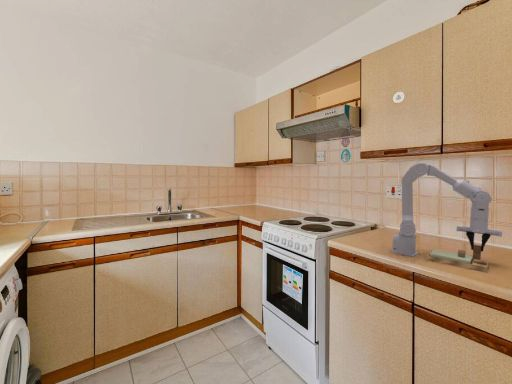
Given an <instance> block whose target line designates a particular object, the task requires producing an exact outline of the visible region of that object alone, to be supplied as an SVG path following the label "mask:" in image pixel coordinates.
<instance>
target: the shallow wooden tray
mask: <svg viewBox="0 0 512 384" xmlns="http://www.w3.org/2000/svg"><path fill="white" fill-rule="evenodd" d="M432 251H433V250H431V251H430V252H429V253H428V254H426V256H425V257H426V260H425V261H428V262H432V263H433V262H434V263H439V264H443V265H448V266H453V267H459V268H463V269H467V270H473V271H478V272H482V273H488V270H489V263H490V261H487V260H484V259H483V260H482V259H481V260H478V259H472V261H471V263H470V264H469V263H464V262H459V261H454V260H449V259H443V258H438V257H433V256H430V253H431V252H432Z"/></svg>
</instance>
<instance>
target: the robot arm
mask: <svg viewBox="0 0 512 384" xmlns="http://www.w3.org/2000/svg"><path fill="white" fill-rule="evenodd" d="M425 175H426V176H429V177H430V176H431V177H435V178H437V179H439V180H441V181H443V182H445V183H446V184H448V185H451V186H452V191H455V192H456V193H457V194H458V195H461V196H462V197H464V198H466V199H469V200H470V201H471V207H470V219H469V222H470V223H469V227H467V226H459V225H458V226H456V229H455V231H456V232H463V233H465V235H466V237H467V240H468V241H469V244H470V250H471V251H473V246H474V245H475V235H476V234H478V235H479V234H480V235H481V245H480V246H481V253H482V252H484V248H485V246H486V244H487V242H488V241H489V239H490V238H491V236H494V237H495V236H496V237H501V238H502V237H503V231H500V230H496V229H495V230H494V229H489V227H488V226H489V215H490V214H489V213H490V208H489V206H490V203H492V199H493V198H492V196H491V194H490V193H489V192H487V191H484V190H482V188H481V187H480V186H479V187H477V186H475V185H474V184H471V181H469V180H468V179H466V180H465V179H456V178H455V177H453V176H451V175H450V174H448V173H447V172H445V171H443V170H441V169H440V168H438V167H435V165H434V166H433V165H431V164H428V163H427V162H425V161H418V162H416V163H415V164H412V165H411V166H410V167H409V168H408V170H407V171H405V174H404V175H403V176H402V177H401V217H402V219H401V223H400V227H399V231H400V232H398V233H394V234H393V236H392V248H391V253H393V254H399V255H403V256H408V257H412V258H414V257H415V256H417V255H418V253H419V252H418V251H416V248H417V244H416V243H417V235H416V229H417V228H416V224H415V223H414V207H413V204H414V202H413V201H414V200H413V199H414V198H413V196H414V194H413V191H414V190H413V187H414V186H413V183H414V182H415V181H416V180H418V179H419V178H421V177H423V176H425Z"/></svg>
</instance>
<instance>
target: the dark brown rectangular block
mask: <svg viewBox="0 0 512 384" xmlns="http://www.w3.org/2000/svg"><path fill="white" fill-rule="evenodd" d="M472 256H473V259H478V260H482V259H481V258H482V257H481V256H482V251H481V245H478V244H474V246H473V250H472Z"/></svg>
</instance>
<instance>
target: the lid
mask: <svg viewBox="0 0 512 384" xmlns="http://www.w3.org/2000/svg"><path fill="white" fill-rule="evenodd" d="M431 251H432V252H431ZM431 251H430V252H431V253H430V252H429V253H430V256H433V257H438V258H443V259H449V260H454V261H459V262H464V263H469V264H470V263H471V261H472V259H473V255H469V254H467V252H466V250H463V249H458V250H457V252H452V251H447V250H441V249H435V248H434V249H433V250H431Z"/></svg>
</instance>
